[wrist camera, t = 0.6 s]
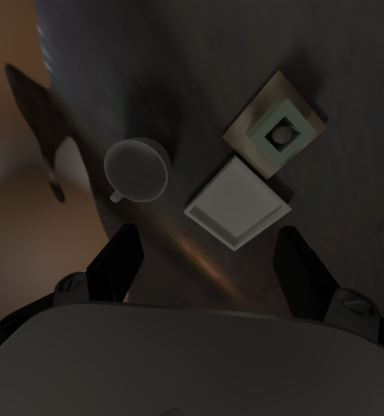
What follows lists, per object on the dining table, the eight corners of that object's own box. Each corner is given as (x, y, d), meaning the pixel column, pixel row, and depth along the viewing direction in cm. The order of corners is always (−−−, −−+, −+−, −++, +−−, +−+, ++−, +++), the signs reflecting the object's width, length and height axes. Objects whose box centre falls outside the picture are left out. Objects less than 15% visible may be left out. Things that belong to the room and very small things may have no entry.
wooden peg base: (277, 71, 26) (294, 58, 20) (323, 127, 29) (351, 129, 23) (221, 136, 31) (223, 140, 25) (265, 178, 34) (275, 190, 28)
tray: (235, 154, 32) (236, 157, 30) (287, 204, 36) (291, 209, 34) (185, 207, 39) (183, 212, 37) (233, 245, 43) (234, 251, 41)
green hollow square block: (275, 101, 27) (287, 98, 23) (301, 129, 28) (316, 132, 24) (244, 134, 30) (250, 138, 25) (269, 159, 31) (278, 166, 27)
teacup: (154, 122, 31) (136, 124, 24) (186, 171, 35) (179, 184, 28) (105, 162, 36) (79, 173, 29) (138, 201, 40) (122, 220, 33)
